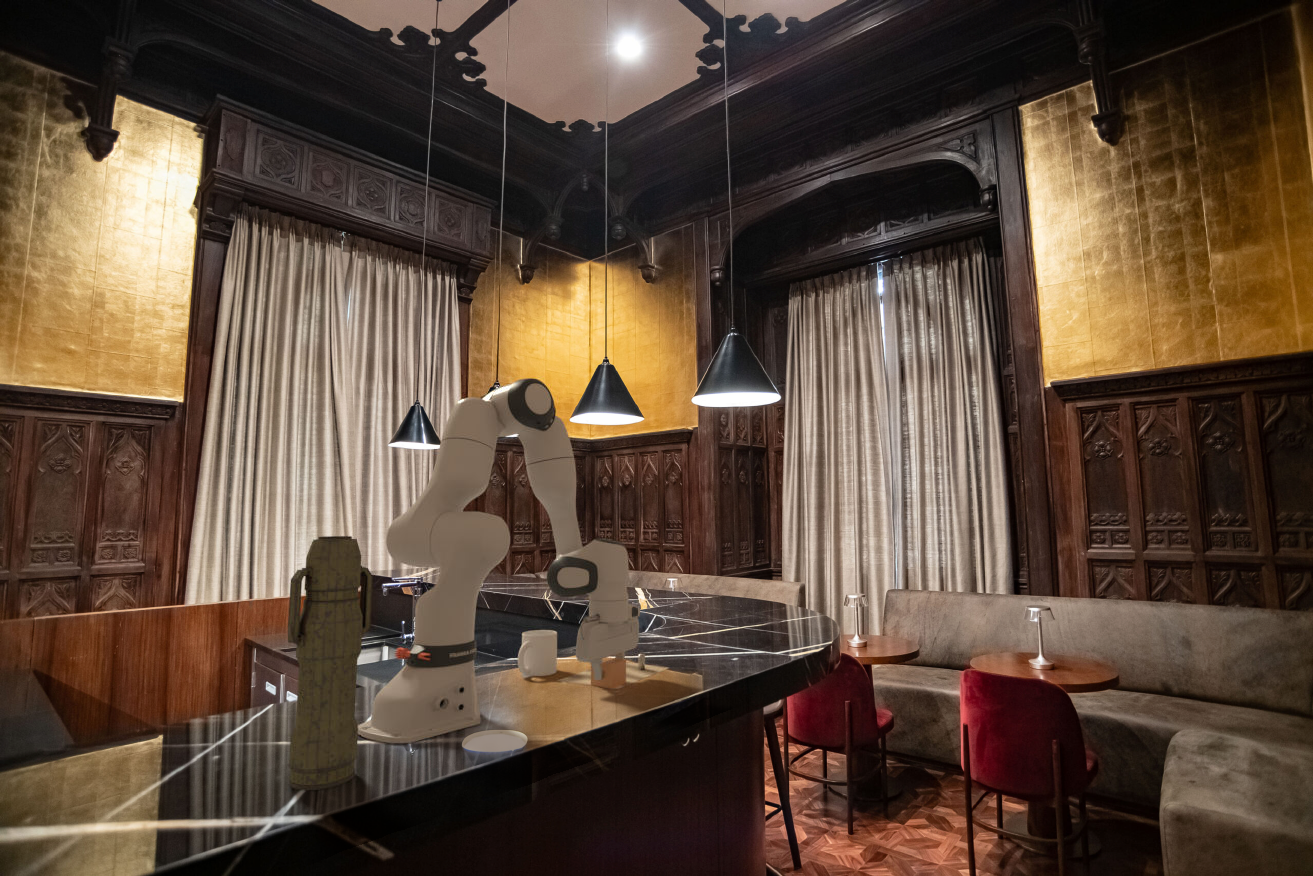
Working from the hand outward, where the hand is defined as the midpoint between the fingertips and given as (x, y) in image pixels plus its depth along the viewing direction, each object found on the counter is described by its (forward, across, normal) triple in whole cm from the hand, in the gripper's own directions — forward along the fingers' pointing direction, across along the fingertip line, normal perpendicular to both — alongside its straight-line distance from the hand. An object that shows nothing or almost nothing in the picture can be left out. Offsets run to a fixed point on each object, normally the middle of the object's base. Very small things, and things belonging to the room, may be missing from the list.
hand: (608, 676), depth 150 cm
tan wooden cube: (+2, 0, 0) cm, 2 cm away
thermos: (+3, -63, +8) cm, 64 cm away
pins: (+2, +11, +4) cm, 12 cm away
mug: (+3, 0, +21) cm, 21 cm away
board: (+3, +9, +4) cm, 10 cm away
